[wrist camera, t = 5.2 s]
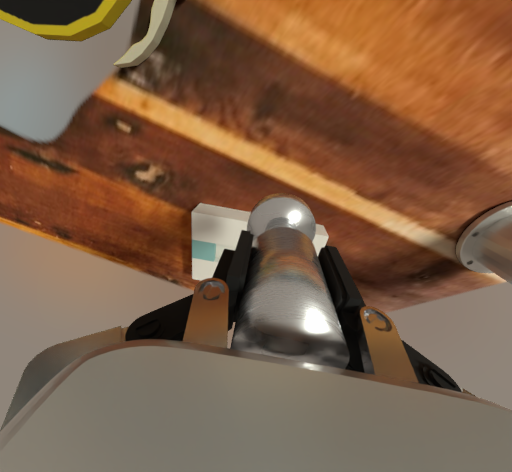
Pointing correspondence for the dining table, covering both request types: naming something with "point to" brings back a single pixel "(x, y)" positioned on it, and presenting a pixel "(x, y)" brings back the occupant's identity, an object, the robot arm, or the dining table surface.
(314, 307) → the steel peg
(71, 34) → the wall ornament
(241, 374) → the robot arm
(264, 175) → the dining table surface
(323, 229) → the keyhole plate
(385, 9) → the dining table surface
